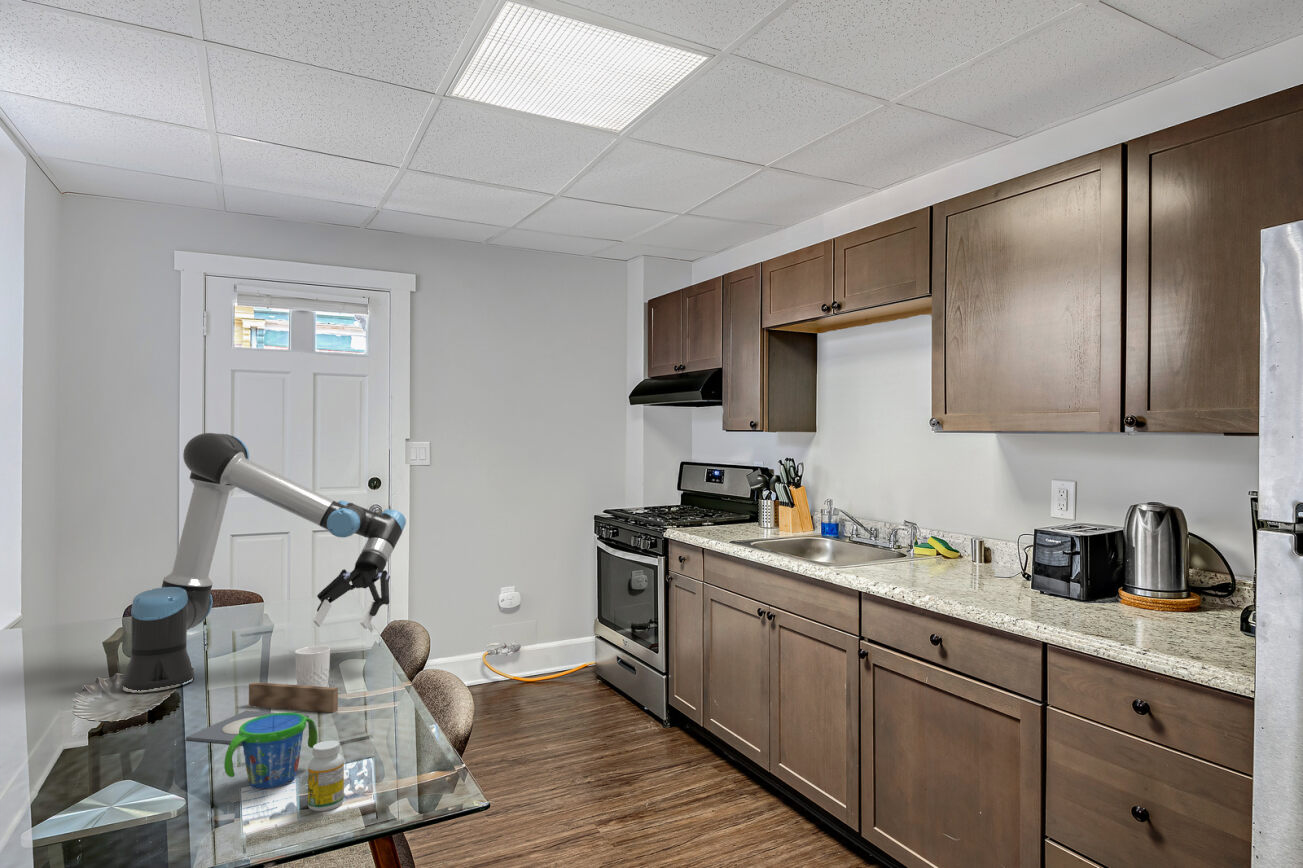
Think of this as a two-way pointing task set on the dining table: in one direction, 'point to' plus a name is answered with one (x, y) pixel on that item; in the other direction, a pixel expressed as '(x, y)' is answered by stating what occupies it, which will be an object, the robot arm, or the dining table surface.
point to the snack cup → (271, 748)
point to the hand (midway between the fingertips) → (339, 624)
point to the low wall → (293, 697)
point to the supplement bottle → (325, 777)
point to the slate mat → (226, 728)
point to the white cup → (312, 666)
